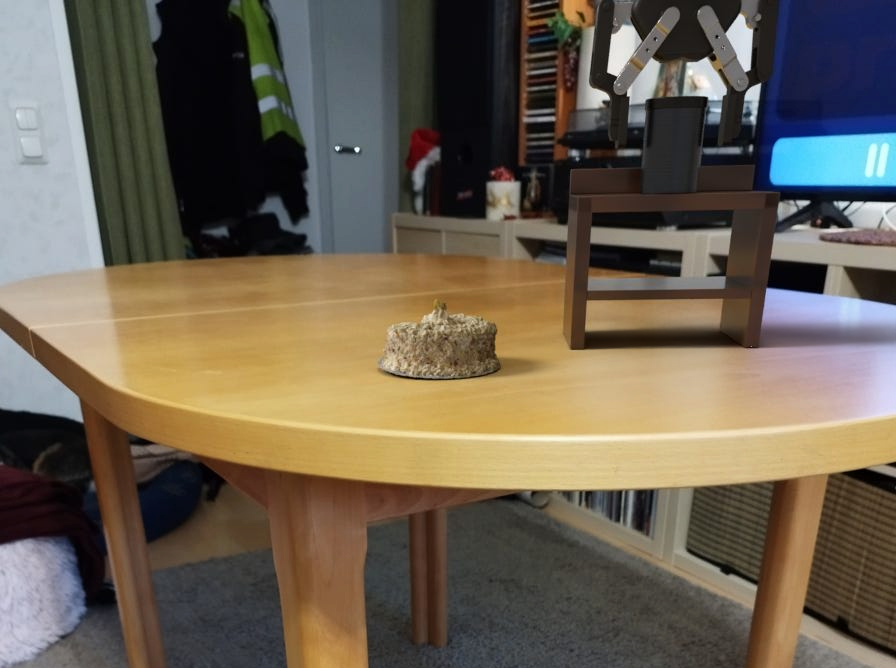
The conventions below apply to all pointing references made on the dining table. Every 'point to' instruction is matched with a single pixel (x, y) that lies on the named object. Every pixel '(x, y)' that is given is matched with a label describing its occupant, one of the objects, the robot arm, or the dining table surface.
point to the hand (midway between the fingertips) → (672, 147)
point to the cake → (441, 346)
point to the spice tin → (672, 144)
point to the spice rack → (737, 289)
